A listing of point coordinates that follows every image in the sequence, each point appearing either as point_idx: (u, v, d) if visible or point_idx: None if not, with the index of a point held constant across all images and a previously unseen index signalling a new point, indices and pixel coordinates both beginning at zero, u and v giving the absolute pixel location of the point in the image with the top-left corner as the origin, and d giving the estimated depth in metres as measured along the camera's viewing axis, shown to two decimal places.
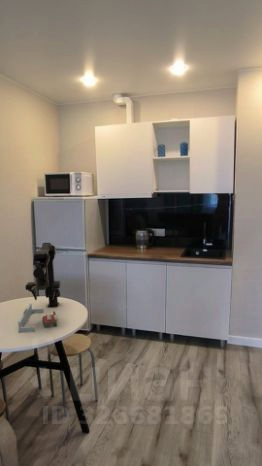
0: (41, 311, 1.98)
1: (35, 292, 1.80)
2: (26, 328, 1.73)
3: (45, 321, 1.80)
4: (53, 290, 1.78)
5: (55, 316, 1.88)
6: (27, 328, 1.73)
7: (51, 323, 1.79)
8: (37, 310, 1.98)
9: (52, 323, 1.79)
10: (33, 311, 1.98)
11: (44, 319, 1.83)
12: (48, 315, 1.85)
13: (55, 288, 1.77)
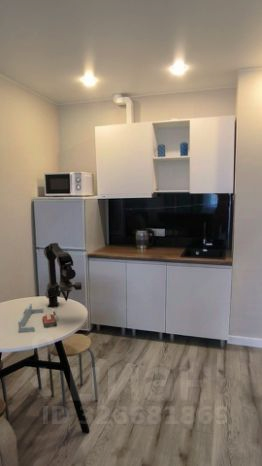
0: (41, 311, 1.98)
1: (65, 293, 1.86)
2: (26, 328, 1.73)
3: (45, 321, 1.80)
4: (67, 292, 1.83)
5: (55, 316, 1.88)
6: (27, 328, 1.73)
7: (51, 323, 1.79)
8: (37, 310, 1.98)
9: (52, 323, 1.79)
10: (33, 311, 1.98)
11: (44, 319, 1.83)
12: (48, 315, 1.85)
13: (77, 289, 1.83)
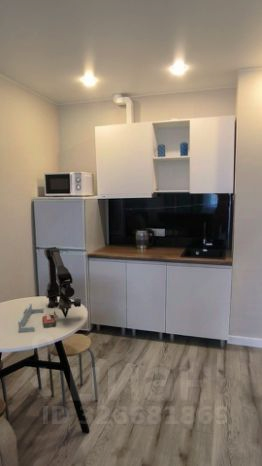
0: (41, 311, 1.98)
1: (64, 309, 1.88)
2: (26, 328, 1.73)
3: (44, 321, 1.80)
4: (67, 309, 1.85)
5: (55, 316, 1.88)
6: (27, 328, 1.73)
7: (50, 323, 1.78)
8: (37, 310, 1.98)
9: (51, 323, 1.79)
10: (33, 311, 1.98)
11: (44, 319, 1.83)
12: (48, 315, 1.85)
13: (76, 306, 1.84)
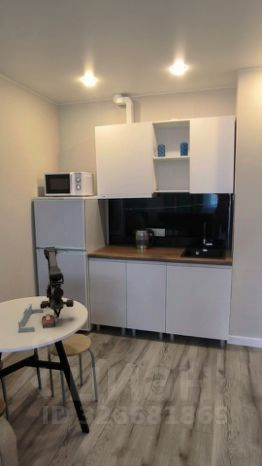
0: (41, 311, 1.98)
1: (57, 310, 1.87)
2: (26, 328, 1.73)
3: (44, 321, 1.80)
4: (59, 309, 1.84)
5: (54, 316, 1.88)
6: (27, 328, 1.73)
7: (49, 323, 1.78)
8: (37, 310, 1.98)
9: (50, 323, 1.78)
10: (33, 311, 1.98)
11: (43, 319, 1.83)
12: (47, 315, 1.84)
13: None
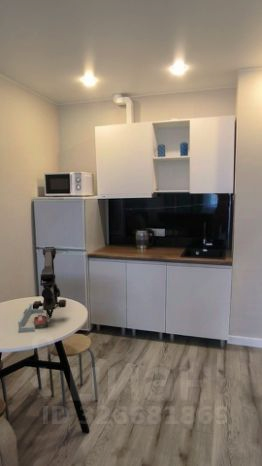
0: (41, 311, 1.98)
1: (49, 310, 1.87)
2: (26, 328, 1.73)
3: (36, 322, 1.79)
4: (51, 309, 1.84)
5: (47, 317, 1.87)
6: (27, 328, 1.73)
7: (42, 324, 1.77)
8: (37, 310, 1.98)
9: (43, 324, 1.78)
10: (33, 311, 1.98)
11: (35, 320, 1.82)
12: (39, 316, 1.84)
13: None
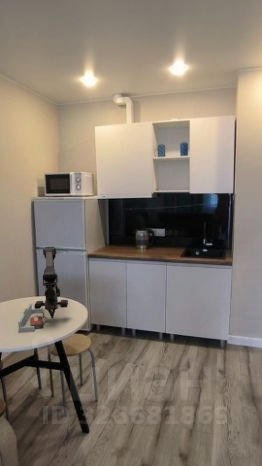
0: (41, 311, 1.98)
1: (51, 310, 1.87)
2: (26, 328, 1.73)
3: (32, 323, 1.78)
4: (53, 309, 1.84)
5: (43, 318, 1.86)
6: (27, 328, 1.73)
7: (37, 325, 1.77)
8: (37, 310, 1.98)
9: (38, 325, 1.77)
10: (33, 311, 1.98)
11: (31, 321, 1.81)
12: (35, 317, 1.83)
13: (63, 307, 1.83)
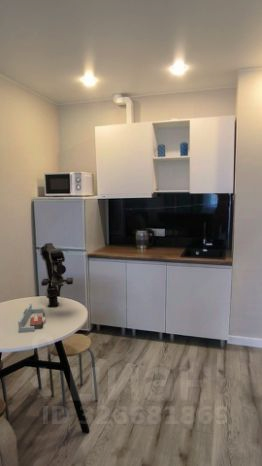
0: (41, 311, 1.98)
1: (57, 287, 1.95)
2: (26, 328, 1.73)
3: (31, 323, 1.78)
4: (59, 286, 1.92)
5: (43, 318, 1.86)
6: (27, 328, 1.73)
7: (37, 325, 1.77)
8: (37, 310, 1.98)
9: (38, 325, 1.77)
10: (33, 311, 1.98)
11: (31, 321, 1.81)
12: (35, 317, 1.83)
13: (68, 284, 1.92)
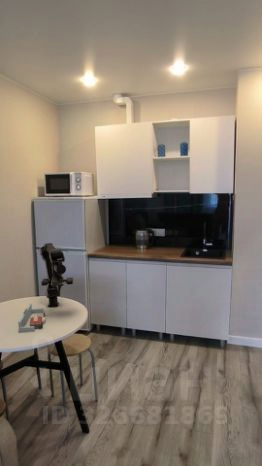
0: (41, 311, 1.98)
1: (57, 287, 1.95)
2: (26, 328, 1.73)
3: (31, 323, 1.78)
4: (59, 286, 1.93)
5: (43, 318, 1.86)
6: (27, 328, 1.73)
7: (36, 325, 1.76)
8: (37, 310, 1.98)
9: (37, 325, 1.77)
10: (33, 311, 1.98)
11: (31, 321, 1.81)
12: (35, 317, 1.83)
13: None
